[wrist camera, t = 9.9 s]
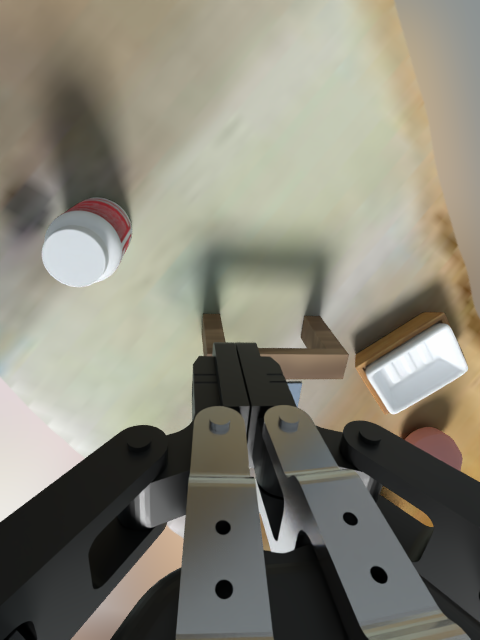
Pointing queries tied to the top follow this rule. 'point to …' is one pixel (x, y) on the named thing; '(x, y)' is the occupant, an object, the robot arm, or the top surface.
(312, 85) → the top surface
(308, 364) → the bridge
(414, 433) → the pink bulb vase
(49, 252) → the pill bottle
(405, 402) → the soap dish
